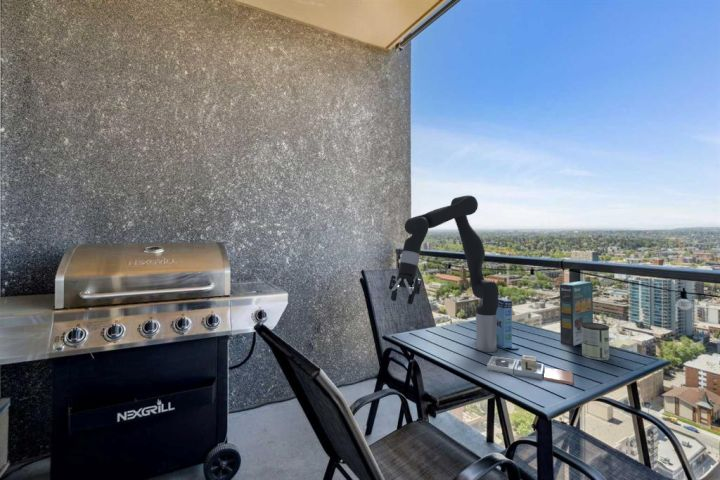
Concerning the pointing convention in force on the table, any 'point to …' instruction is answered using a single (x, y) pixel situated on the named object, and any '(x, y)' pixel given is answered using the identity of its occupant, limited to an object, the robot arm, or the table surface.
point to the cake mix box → (575, 310)
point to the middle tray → (536, 375)
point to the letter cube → (529, 363)
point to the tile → (558, 376)
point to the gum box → (504, 323)
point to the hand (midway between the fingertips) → (401, 302)
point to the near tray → (493, 367)
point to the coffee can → (595, 341)
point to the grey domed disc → (502, 363)
